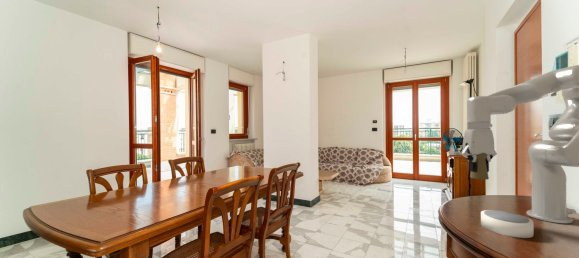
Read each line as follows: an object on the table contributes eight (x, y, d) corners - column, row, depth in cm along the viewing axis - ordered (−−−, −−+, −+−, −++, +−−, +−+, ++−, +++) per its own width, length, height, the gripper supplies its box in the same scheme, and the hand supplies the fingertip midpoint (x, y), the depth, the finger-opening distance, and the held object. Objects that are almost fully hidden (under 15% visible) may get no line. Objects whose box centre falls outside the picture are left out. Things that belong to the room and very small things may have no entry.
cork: (483, 176, 99) (483, 150, 99) (492, 179, 93) (491, 151, 93) (467, 176, 101) (466, 150, 101) (474, 179, 95) (473, 151, 95)
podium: (505, 221, 93) (504, 208, 93) (545, 237, 79) (545, 222, 79) (471, 222, 92) (471, 209, 92) (506, 238, 78) (506, 224, 78)
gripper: (490, 126, 101) (490, 169, 101) (452, 127, 100) (452, 170, 100) (507, 126, 93) (507, 172, 93) (465, 126, 93) (466, 173, 93)
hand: (479, 170), depth 97 cm, fingers closed on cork, 4 cm apart
